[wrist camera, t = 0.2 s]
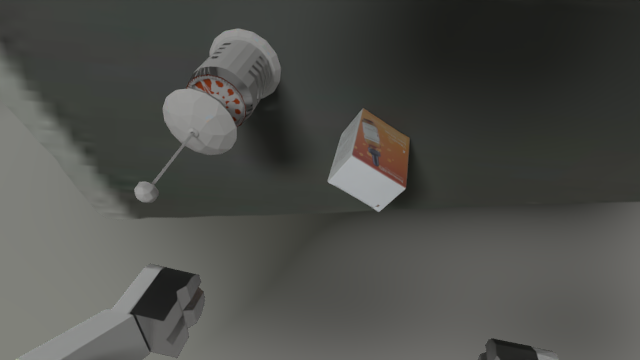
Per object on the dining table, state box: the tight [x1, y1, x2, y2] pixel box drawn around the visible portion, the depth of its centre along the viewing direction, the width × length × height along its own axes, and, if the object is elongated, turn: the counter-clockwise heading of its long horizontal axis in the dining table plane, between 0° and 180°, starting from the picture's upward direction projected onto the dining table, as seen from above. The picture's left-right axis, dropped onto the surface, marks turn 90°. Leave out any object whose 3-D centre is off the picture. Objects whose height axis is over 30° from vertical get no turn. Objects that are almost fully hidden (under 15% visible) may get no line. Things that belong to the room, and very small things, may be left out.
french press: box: [135, 29, 281, 202], centre depth 41 cm, size 10×12×25 cm
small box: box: [328, 109, 410, 212], centre depth 49 cm, size 8×6×10 cm
